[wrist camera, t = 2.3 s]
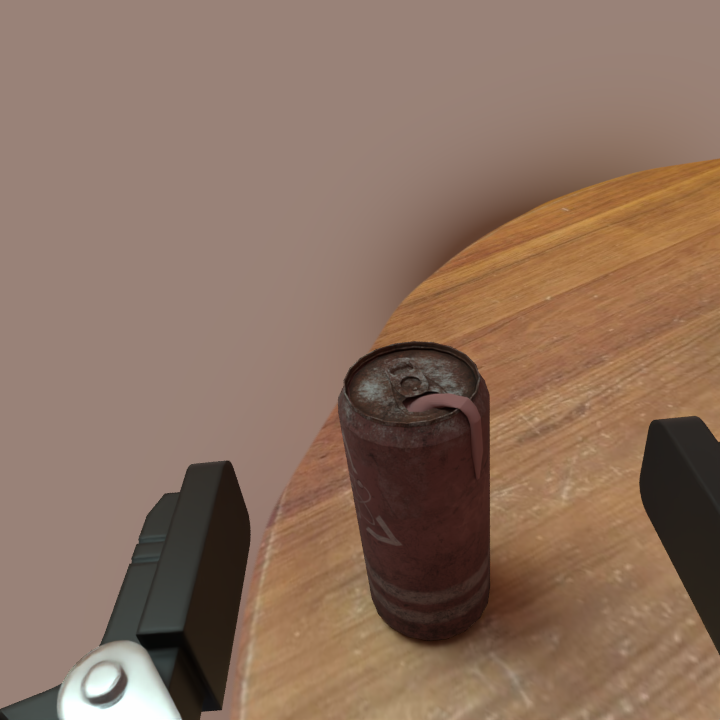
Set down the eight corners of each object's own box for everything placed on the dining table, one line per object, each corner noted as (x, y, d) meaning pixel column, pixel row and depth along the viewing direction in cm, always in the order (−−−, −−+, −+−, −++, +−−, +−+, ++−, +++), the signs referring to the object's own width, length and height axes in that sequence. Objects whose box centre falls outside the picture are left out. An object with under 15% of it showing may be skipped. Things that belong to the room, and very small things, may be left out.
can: (460, 672, 29) (448, 449, 21) (349, 610, 32) (303, 398, 24) (513, 575, 32) (520, 356, 25) (409, 528, 36) (387, 323, 28)
